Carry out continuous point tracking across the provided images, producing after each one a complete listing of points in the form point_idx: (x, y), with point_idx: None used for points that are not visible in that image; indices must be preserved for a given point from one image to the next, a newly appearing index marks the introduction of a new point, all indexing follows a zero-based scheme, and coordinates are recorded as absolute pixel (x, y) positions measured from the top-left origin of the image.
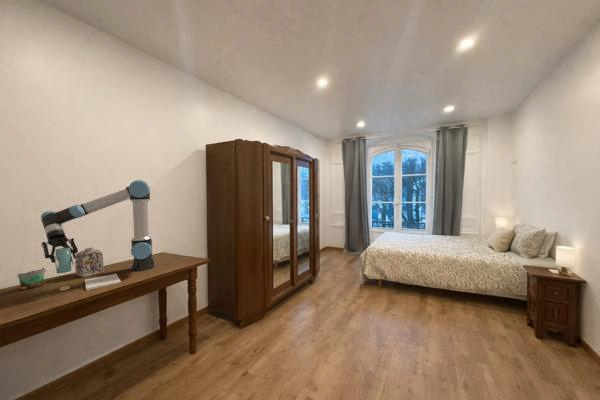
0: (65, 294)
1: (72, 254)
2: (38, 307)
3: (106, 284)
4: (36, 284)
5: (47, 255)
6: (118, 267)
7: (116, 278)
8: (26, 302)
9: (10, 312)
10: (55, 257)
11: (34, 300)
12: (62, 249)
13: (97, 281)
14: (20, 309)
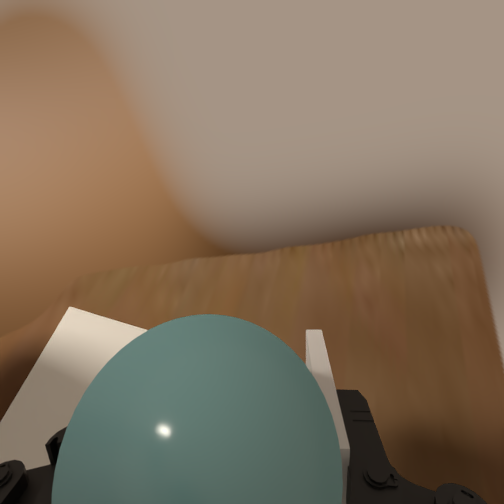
0: None
1: None
2: (385, 290)
3: (120, 322)
4: None
5: (458, 493)
6: None
7: (35, 382)
8: (433, 437)
9: (480, 330)
10: (332, 410)
11: (399, 433)
12: (238, 339)
13: None
14: (447, 334)
